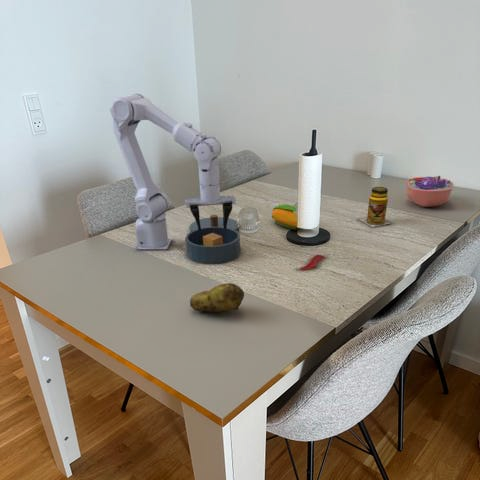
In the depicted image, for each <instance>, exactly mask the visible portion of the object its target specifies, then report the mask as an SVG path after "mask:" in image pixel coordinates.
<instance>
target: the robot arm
mask: <svg viewBox="0 0 480 480" xmlns="http://www.w3.org/2000/svg"><path fill="white" fill-rule="evenodd" d="M109 112H110V114H111V117H112V126H113V127H112V129H113V134H114V136H115V138H116V141H117V144H118V147H119V149H120V151H121V154H122V156H123V159H124V161H125V164H126V166H127V169H128V171H129V174H130V177H131V179H132V181H133V185H134V186H135V189H136V194H135V197H134V202H135V205H136V208H135V209H136V214H137V216H138V218H137V219H136V221H135V235H136V241H137V250H168V249H169V247H170V244H171V243H172V238H169V236H168V226H167V219H166V216H167V214H166V212H167V211H168V209H169V201H168V199H167V198H166V196H165V195H164V194H163V193H162V190H161V188H159V186H156V185H155V183H154V181H153V178H152V176H151V173H150V169H149V167H148V165H147V162H146V160H145V157H144V154H143V151H142V149H141V146H140V144H139V141H138V139H137V136H136V133H135V132H136V130H137V128H138V126H139V124H140V122H141V121H149V122H151V123H152V124H154V125H156V126H157V127H159V128H161V129H163V130H164V131H166V132H168V133H169V134H171V135H172V138H173V141H174V142H175V143H177V144H179V145H180V146H181V147H183V148H184V149H185V150H187V151H189V152H190V153H192V154H193V156H194V158H195V160H196V162H197V167H198V180H199V194H200V196H199V197H198V196H197V197H194V198H186V199H185V201H184V202H185V208H186V209H188V208H189V210H190V212H191V215H192V216H193V218H194V221H196V222H197V225H198V230H199V231H201V226H200V219H201V218H200V207H206V206H208V207H209V206H221V205H222V217H223V227H224V229H226V227H227V221H228V218H230V215H231V212H232V211H233V205H237V203H236V202H237V200H236V199H237V198H236V196H235V195H221V186H220V166H219V165H220V164H219V156H220V155H221V152H222V146H221V143H220V141H219V140H218V139H217V138H216V137H215V136H207V134H206V133H202V132H201V131H199V130H197V129H196V128H195V127H193V123H191V122H185V121H183V122H180V123H179V122H178V121H176V120H175V119H174V118H172V117H171V116H170V115H168V113H166V112H165V111H163V110H162V109H161V108H159V107H158V106H157V105H155V104H154V103H153V101H152V100H151V99H150V98H147V97H145V96H144V95H142V94H141V93H134V94H130V95H126V96H119V97H116V98H115V99H114V100H113V101H112V104H111V107H110V109H109Z"/></svg>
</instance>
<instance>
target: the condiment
mask: <svg viewBox="0 0 480 480" xmlns="http://www.w3.org/2000/svg"><path fill="white" fill-rule="evenodd" d="M388 192H389V190H388V188H387V187H385V186H375V187H372V188H371V192H370V196H369V198H368V207H367V209H368V210H367V215H366V216H367V217H365V218H359V219H358V220H359V221H360V222H363V223H364V224H366V225H367V226H369V227H372V228H374V227H381V226H386V225H388V224H391V223H390V222H388V221H386V216H387V215H386V214H387V208H388V202H389V201H388V200H389V198H388Z"/></svg>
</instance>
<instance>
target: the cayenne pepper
mask: <svg viewBox="0 0 480 480" xmlns="http://www.w3.org/2000/svg"><path fill="white" fill-rule="evenodd" d="M325 258H326V257H325V256H324V255H322V254H315V255H314V256H313V257H311V258H310V260H309V261H308V263H307V264H306V265H305V266H302V267H300V268H298V271H310V270H313V269H316V268H317V265H318V263H319V262H320V261H321V260H323V259H325Z"/></svg>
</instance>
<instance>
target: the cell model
mask: <svg viewBox="0 0 480 480" xmlns="http://www.w3.org/2000/svg"><path fill="white" fill-rule="evenodd" d="M441 177H442V176H441V175H438V176H420V177H419V176H418V177H412V178H408V179H407V180H406V189H405V194H406V197H407V198H408V199H409V201H410V202H412V203H414V204H415V205H417V206H419V207H421V208H431V207H432V208H433V207H437V206H441V205H443V204H445V203H446V202H448V200H449V199H450V196H451V194H452V191H453V189H454V186H455V183H454V182H453V181H451V180H450V179H447V178H443V177H442V178H441Z"/></svg>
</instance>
